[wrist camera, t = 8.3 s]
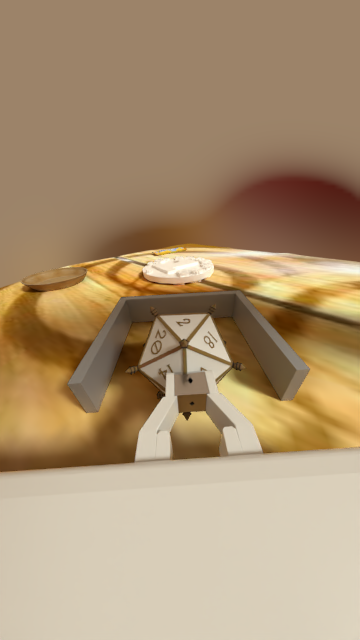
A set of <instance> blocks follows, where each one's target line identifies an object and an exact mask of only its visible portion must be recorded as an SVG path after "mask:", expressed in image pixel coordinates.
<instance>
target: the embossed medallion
mask: <svg viewBox="0 0 360 640" xmlns="http://www.w3.org/2000/svg"><path fill="white" fill-rule="evenodd" d="M147 264H148V265H146V266H145V267H144V268H143V274H144V278H146V279H147V280H149V281H153V282H158V283H170V284H173V285H178V284H179V285H185V283H188V282H191V283H195V282H201V280H202V279H206V278H208V277H210V276H211V274H212V273H213V272H214V266H213V263H212V262H211V260H208V259H205V260H204V258H200V257H198V258H194V257H185V258H184V257H182V256H180V257H175V259H169V258H164V260H163V259H158V260H155V262H154V263H153V262H149V263H147Z"/></svg>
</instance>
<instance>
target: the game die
mask: <svg viewBox="0 0 360 640" xmlns="http://www.w3.org/2000/svg"><path fill="white" fill-rule="evenodd" d="M215 310H216V304H214V305H212V306H210V308H209V311H208V312H207V313H183V314H158V312H157V310H156V308H153V307H151V306H150V313H152V315H154V316H155V319H154V321H153V324H152V327H151V330H150V332H149V335H148V338H147V340H146V343H145V344H144V345H143V347H144V349H143V351H142V354H141V357H140V360H139V362H138V365H137V366H133V367H129V368H128V369H127V370H126V371H125V372H127V373H130V374H132V373H135V372H136V371H139V372H140V373H141V374H143V375H144V376H145V377H146V378H147V379H148V380H149V381H150V382H151V383H152V384H153V385H155V386H156V387H157V388H158V389H159V390H160V391H159V392H158V394H157V397H158V399H159V398H162V396H163V393H164V394H165V389H166V373H177V372H192V371H207V370H212V371H213V374H214V377H215V381H216V385H217V384H218V382H219V381H220V380H221V379H222V378H223V377H224V376H225V375H226V374H227V373H228V372H229V371H230V370H231V369H232V368H235V369H236V370H240V371H241V370H243V369H246V367H245V366H244V365H243V364H242V363H238V362H237V363H233V360H232V358H231V356H230V354H229V352H228V350H227V347H226V342H225V341H224V340H223V339H222V337H221V334H220V332H219V330H218V328H217V326H216V323H215V321H214V319H213V317H212V313H213V312H214V311H215ZM183 415H184V417H185V418H186V420H188V419H189V417H190V415H191V413H190V412H184V413H183Z"/></svg>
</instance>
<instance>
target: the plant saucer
mask: <svg viewBox="0 0 360 640" xmlns="http://www.w3.org/2000/svg"><path fill="white" fill-rule="evenodd" d="M86 273H87V269H85V268H80V267H70V268H60V269H53V270H48V271H43V272H39V273H36V274H33V275H30V276H27V277H25V278H23V279H22V280H21V283H22V284H24V285H26V286H28V287H30V288H32V289H35V290H39V291H53V290H59V289H64V288H67V287H71V286H74V285H76V284H78V283H80V282H81V281H82V280H83V279H84V277H85V276H86Z"/></svg>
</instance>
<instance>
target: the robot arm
mask: <svg viewBox="0 0 360 640" xmlns="http://www.w3.org/2000/svg"><path fill="white" fill-rule="evenodd" d="M197 411H206V413H207V414H208V416H209V417H210V419H211V420H212V421H213V423H214V424H215V426H216V427H217V428H218V430H219V431H220V432H221V434H222V436H221V440H220V445H219V453H220V457H208V458H194V459H180V460H173V449H172V443H171V437H170V431H171V429H172V427H173V425H174V423H175V421H176V419H177V417H178V414H179V413H184V412H197ZM0 640H360V447H351V448H336V449H322V450H308V451H294V452H280V453H265V454H264V453H263V450H262V448H261V445H260V443H259V440H258V437H257V435H256V432H255V430H254V427H253V424H252V423H251V422H250V421H249V420H248V419H247V418H246V417H245V416H244V415H243V414H242V413H241V412H240V411H239V410H238V409H237V408H236V407H235V406H234V405H233V404H232V403H231V402H230V401H229V400H228V399H227V398H226V397H225V396H224V395H223V394H222V393H219V392H218V389H217V385H216V381H215V377H214V374H213V371H212V370H207V371H192V372H177V373H166V389H165V397H162V399H161V400H160V402H159V403H158V405H157V406H156V408H155V409H154V411H153V412H152V414H151V415H150V417H149V418H148V420H147V421H146V422H145V424H144V425H143V427H142V428H141V430H140V431H139V436H138V443H137V449H136V456H135V462H134V463H123V464H109V465H95V466H81V467H67V468H53V469H38V470H24V471H10V472H0Z"/></svg>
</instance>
